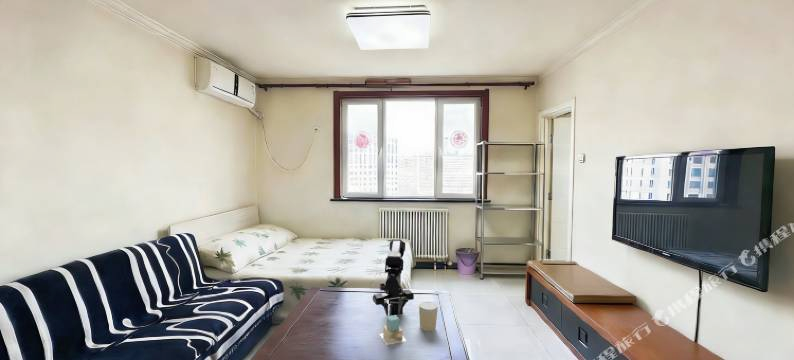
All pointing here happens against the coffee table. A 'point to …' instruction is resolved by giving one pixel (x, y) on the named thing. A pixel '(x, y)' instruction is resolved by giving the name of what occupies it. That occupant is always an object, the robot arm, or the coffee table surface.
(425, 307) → the coffee cup
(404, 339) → the baseplate
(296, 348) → the coffee table surface
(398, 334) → the maple brick
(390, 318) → the teal block
